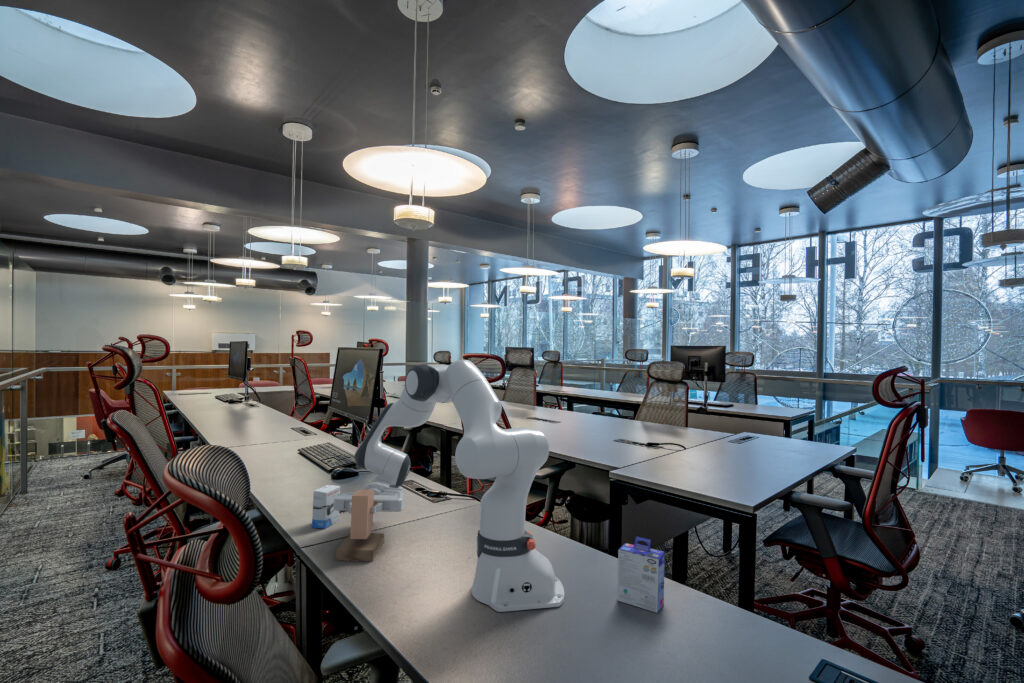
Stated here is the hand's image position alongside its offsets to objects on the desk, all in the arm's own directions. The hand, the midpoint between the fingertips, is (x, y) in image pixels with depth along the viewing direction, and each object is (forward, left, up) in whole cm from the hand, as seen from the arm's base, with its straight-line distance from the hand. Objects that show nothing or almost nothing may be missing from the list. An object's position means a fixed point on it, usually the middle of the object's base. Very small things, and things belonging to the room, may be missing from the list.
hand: (361, 510), depth 134 cm
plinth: (0, -1, -12) cm, 12 cm away
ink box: (+18, -22, -12) cm, 31 cm away
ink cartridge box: (-73, +24, -12) cm, 78 cm away
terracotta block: (0, -1, -7) cm, 7 cm away
